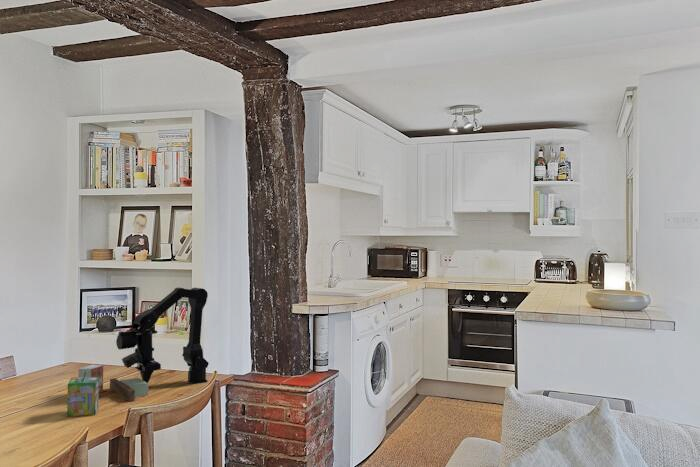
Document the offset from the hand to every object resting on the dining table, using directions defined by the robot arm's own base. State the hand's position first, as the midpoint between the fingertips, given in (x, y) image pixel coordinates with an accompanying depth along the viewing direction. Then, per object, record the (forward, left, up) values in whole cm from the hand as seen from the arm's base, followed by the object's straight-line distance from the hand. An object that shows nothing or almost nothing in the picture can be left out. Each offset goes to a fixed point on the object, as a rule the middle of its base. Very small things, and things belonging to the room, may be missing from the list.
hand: (145, 384), depth 234 cm
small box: (+18, -9, -3) cm, 21 cm away
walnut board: (+9, 0, -2) cm, 10 cm away
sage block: (+5, +1, -3) cm, 5 cm away
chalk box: (+27, +16, -3) cm, 32 cm away
